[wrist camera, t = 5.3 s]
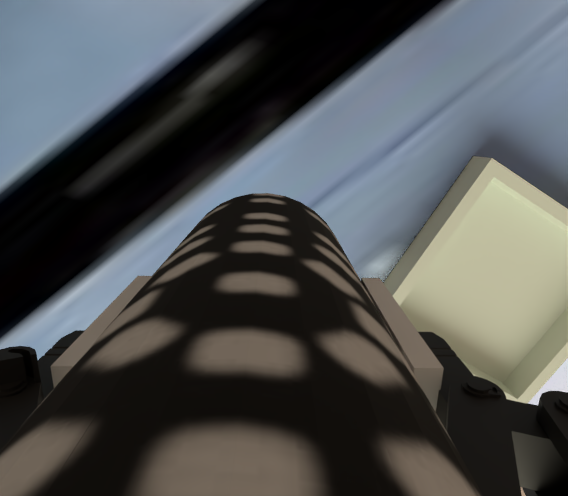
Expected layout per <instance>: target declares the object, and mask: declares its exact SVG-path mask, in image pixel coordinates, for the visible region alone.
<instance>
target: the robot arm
mask: <svg viewBox="0 0 568 496" xmlns="http://www.w3.org/2000/svg"><path fill="white" fill-rule="evenodd" d="M151 277H152V276H137V277H136V278H135V280H134V281H133V282H132V283H131V284H130V285H129V286H128V287H127V288H126V289H125V290H124V291H123V292H122V293H121V294H120V295H119V296H118V297H117V298H116V299H115V300H114V301H113V302H112V303H111V304H110V305H109V306H108V307H107V308H106V309H105V310H104V312H103V313H102V314H101V315H100V316H99V317H98V318H97V319H96V320H95V321H94V322H93V323H92V324H91V325H90V326H89V327H88V328H87V329H86V330H85V331H74V332H72V333H70V334H68V335H66V336H64V337H63V338H61V339H60V340H59V341H58V342H57V343H56V344H55V345H54V346H53V347H52V349H50V350H48V351H47V352H46V353H45V356H42V357H41V358H40V359H39V360H38V361H37V355H36V351H35V349H33V348H31V347H24V346H17V347H9V348H5V349H1V350H0V449H1V448H2V447H3V446H4V445H5V444H6V443H7V441H8V440H9V439H10V438H11V437H12V436H13V435H14V433H15V432H16V431H17V430H18V429H19V428H20V427H21V425H22V424H23V423H24V422H25V421H26V420H27V419H28V417H29V416H30V415H31V414H32V413H33V412H34V411H35V409H36V408H37V407H38V406H39V405H40V404H41V403H42V401H43V400H44V399H45V398H46V397H47V396H48V395H49V393H50V392H51V391H52V390H53V389H54V388H55V387H56V385H57V384H58V383H59V382H60V381H61V380H62V379H63V377H64V376H65V375H66V374H67V373H68V372H69V371H70V369H71V368H72V367H73V366H74V365H75V364H76V363H77V361H78V360H79V359H80V358H81V357H82V356H83V354H84V353H85V352H86V351H87V350H88V349H89V348H90V346H91V345H92V344H93V343H94V342H95V341H96V340H97V338H98V337H99V336H100V335H101V334H102V333H103V332H104V330H105V329H106V328H107V327H108V326H109V325H110V324H111V322H112V321H113V320H114V319H115V318H116V317H117V316H118V314H119V313H120V312H121V311H122V310H123V309H124V308H125V306H126V305H127V304H128V303H129V302H130V301H131V300H132V298H133V297H134V296H135V295H136V294H137V293H138V292H139V290H140V289H141V288H142V287H143V286H144V285H145V284H146V282H147V281H148V280H149V279H150V278H151ZM361 282H362V284H363V286H364V288H365V289H366V291H367V293H368V295H369V296H370V298H371V300H372V302H373V303H374V305H375V307H376V309H377V310H378V312H379V314H380V316H381V317H382V319H383V321H384V323H385V324H386V326H387V328H388V330H389V331H390V333H391V335H392V337H393V338H394V340H395V342H396V344H397V345H398V347H399V349H400V351H401V352H402V354H403V356H404V358H405V359H406V361H407V363H408V365H409V366H410V368H411V370H412V372H413V373H414V375H415V377H416V379H417V380H418V382H419V384H420V386H421V387H422V389H423V391H424V393H425V395H426V396H427V398H428V400H429V402H430V403H431V405H432V407H433V409H434V410H435V412H436V414H437V416H438V417H439V419H440V421H441V423H442V424H443V426H444V428H445V430H446V431H447V433H448V435H449V437H450V438H451V440H452V442H453V444H454V445H455V447H456V449H457V451H458V452H459V454H460V456H461V458H462V459H463V461H464V463H465V465H466V466H467V468H468V470H469V472H470V473H471V475H472V477H473V479H474V480H475V482H476V484H477V486H478V487H479V489H480V491H481V493H482V494H483V496H521V489H520V487H523V491H524V493H525V495H526V496H568V393H566V392H561V391H548V392H545V393H542V395H541V397H540V400H539V405H538V406H537V405H532V404H527V403H522V402H517V401H513V400H509V399H506V395H505V393H504V391H503V390H502V389H501V388H500V387H499V386H497V385H496V384H494V383H493V382H491V381H489V380H487V379H484V378H481V377H477V376H474V375H473V374H472V373H471V372H470V371H469V369H468V368H467V367H466V366H465V364H464V363H463V362H462V361H461V360H460V358H459V357H457V355H456V353H455V352H454V351H453V350H451V347H450V346H449V345H448V344H447V342H446V341H445V340H444V339H443V338H441V337H440V336H438V335H436V334H435V333H433V332H418V331H417V330H416V329H415V327H414V326H413V324H412V323H411V322H410V320H409V319H408V317H407V316H406V314H405V313H404V312H403V310H402V309H401V307H400V306H399V305H398V303H397V302H396V300H395V299H394V298H393V296H392V295H391V293H390V292H389V291H388V289H387V288H386V286H385V285H384V284H383V282H382V281H381V279H380V278H361Z"/></svg>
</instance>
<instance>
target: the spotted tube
mask: <svg viewBox="0 0 568 496" xmlns="http://www.w3.org/2000/svg"><path fill="white" fill-rule="evenodd" d="M0 496H483V494H482V493H481V491H480V489H479V487H478V486H477V484H476V482H475V480H474V479H473V477H472V475H471V473H470V472H469V470H468V468H467V466H466V465H465V463H464V461H463V459H462V458H461V456H460V454H459V452H458V451H457V449H456V447H455V445H454V444H453V442H452V440H451V438H450V437H449V435H448V433H447V431H446V430H445V428H444V426H443V424H442V423H441V421H440V419H439V417H438V416H437V414H436V412H435V410H434V409H433V407H432V405H431V403H430V402H429V400H428V398H427V396H426V395H425V393H424V391H423V389H422V387H421V386H420V384H419V382H418V380H417V379H416V377H415V375H414V373H413V372H412V370H411V368H410V366H409V365H408V363H407V361H406V359H405V358H404V356H403V354H402V352H401V351H400V349H399V347H398V345H397V344H396V342H395V340H394V338H393V337H392V335H391V333H390V331H389V330H388V328H387V326H386V324H385V323H384V321H383V319H382V317H381V316H380V314H379V312H378V310H377V309H376V307H375V305H374V303H373V302H372V300H371V298H370V296H369V295H368V293H367V291H366V289H365V288H364V286H363V284H362V282H361V281H360V279H359V277H358V275H357V274H356V272H355V270H354V268H353V267H352V265H351V263H350V261H349V260H348V258H347V256H346V254H345V253H344V251H343V249H342V247H341V246H340V244H339V242H338V240H337V239H336V237H335V235H334V234H333V232H332V231H331V229H330V228H329V226H328V225H327V223H326V222H325V221H324V220H323V219H322V218H321V217H320V216H319V215H318V214H317V213H316V212H315V211H313V210H312V209H310V208H309V207H307V206H305V205H304V204H302V203H301V202H298V201H296V200H293V199H291V198H288V197H286V196H280V195H275V194H269V193H264V194H249V195H244V196H239V197H235V198H233V199H231V200H229V201H226V202H224V203H222V204H220V205H219V206H217V207H216V208H214V209H213V210H211V211H210V212H209V213H207V214H206V215H205V217H204V218H203V219H202V220H201V221H200V222H199V223H198V224H197V225H196V226H195V227H194V229H193V230H192V231H191V232H190V233H189V234H188V235H187V237H186V238H185V239H184V240H183V241H182V242H181V243H180V245H179V246H178V247H177V248H176V249H175V250H174V252H173V253H172V254H171V255H170V256H169V257H168V258H167V260H166V261H165V262H164V263H163V264H162V265H161V266H160V268H159V269H158V270H157V271H156V272H155V273H154V274H153V276H152V277H151V278H150V279H149V280H148V281H147V282H146V284H145V285H144V286H143V287H142V288H141V289H140V290H139V292H138V293H137V294H136V295H135V296H134V297H133V298H132V300H131V301H130V302H129V303H128V304H127V305H126V306H125V308H124V309H123V310H122V311H121V312H120V313H119V314H118V316H117V317H116V318H115V319H114V320H113V321H112V322H111V324H110V325H109V326H108V327H107V328H106V329H105V330H104V332H103V333H102V334H101V335H100V336H99V337H98V338H97V340H96V341H95V342H94V343H93V344H92V345H91V346H90V348H89V349H88V350H87V351H86V352H85V353H84V354H83V356H82V357H81V358H80V359H79V360H78V361H77V363H76V364H75V365H74V366H73V367H72V368H71V369H70V371H69V372H68V373H67V374H66V375H65V376H64V377H63V379H62V380H61V381H60V382H59V383H58V384H57V385H56V387H55V388H54V389H53V390H52V391H51V392H50V393H49V395H48V396H47V397H46V398H45V399H44V400H43V401H42V403H41V404H40V405H39V406H38V407H37V408H36V409H35V411H34V412H33V413H32V414H31V415H30V416H29V417H28V419H27V420H26V421H25V422H24V423H23V424H22V425H21V427H20V428H19V429H18V430H17V431H16V432H15V433H14V435H13V436H12V437H11V438H10V439H9V440H8V441H7V443H6V444H5V445H4V446H3V447H2V448H1V449H0Z"/></svg>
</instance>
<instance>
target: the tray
mask: <svg viewBox="0 0 568 496" xmlns="http://www.w3.org/2000/svg"><path fill="white" fill-rule="evenodd" d="M383 284H384V285H385V286H386V288H387V289H388V291H389V292H390V293H391V295H392V296H393V298H394V299H395V300H396V302H397V303H398V305H399V306H400V307H401V309H402V310H403V312H404V313H405V314H406V316H407V317H408V319H409V320H410V322H411V323H412V324H413V326H414V327H415V329H416V330H417V331H418V332H433V333H435V334H436V335H438V336H440V337H441V338H443V339H444V340H445V341H446V342H447V344H448V345H449V346H450V347H451V350H453V351H454V352H455V353H456V355H457V357H459V358H460V360H461V361H462V362H463V363H464V364H465V366H466V367H467V368H468V369H469V371H470V372H471V373H472V374H473V375H474V376H477V377H481V378H484V379H487V380H489V381H491V382H493V383H494V384H496V385H497V386H499V387H500V388H501V389H502V390H503V391H504V393H505V395H506V399H509V400H513V401H517V402H522V403H528V402H529V401H530V400H531V399H532V398H533V396H534V395H535V394H536V393H537V392H538V391H539V390H540V389H541V387H542V386H543V385H544V384H545V383H546V382H547V381H548V379H549V378H550V377H551V376H552V375H553V374H554V373H555V372H556V370H557V369H558V368H559V367H560V366H561V365H562V364H563V362H564V361H565V360H566V359H567V358H568V209H567V208H565V207H564V206H562V205H561V204H559V203H558V202H556V201H555V200H553V199H552V198H551V197H549V196H548V195H546V194H545V193H543V192H542V191H540V190H539V189H537V188H536V187H534V186H533V185H531V184H530V183H528V182H527V181H525V180H524V179H522V178H521V177H519V176H518V175H516V174H515V173H513V172H512V171H510V170H509V169H507V168H506V167H504V166H503V165H501V164H500V163H498V162H497V161H496V160H494V159H493V158H486V157H476V156H473V157H472V158H471V160H470V161H469V163H468V164H467V165H466V167H465V168H464V170H463V171H462V173H461V174H460V175H459V177H458V178H457V180H456V181H455V182H454V184H453V185H452V187H451V188H450V189H449V191H448V192H447V194H446V195H445V197H444V198H443V199H442V201H441V202H440V204H439V205H438V206H437V208H436V209H435V211H434V212H433V214H432V215H431V216H430V218H429V219H428V221H427V222H426V223H425V225H424V226H423V228H422V229H421V230H420V232H419V233H418V235H417V236H416V238H415V239H414V240H413V242H412V243H411V245H410V246H409V247H408V249H407V250H406V252H405V253H404V255H403V256H402V257H401V259H400V260H399V262H398V263H397V264H396V266H395V267H394V269H393V270H392V271H391V273H390V274H389V276H388V277H387V279H386V280H385V281H384V283H383Z"/></svg>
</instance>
